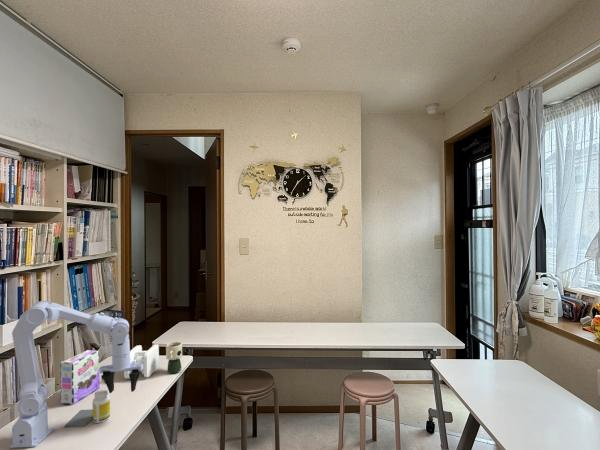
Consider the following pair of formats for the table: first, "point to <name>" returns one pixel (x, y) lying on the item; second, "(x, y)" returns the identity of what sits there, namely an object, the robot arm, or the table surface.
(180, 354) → the character mug
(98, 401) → the supplement bottle
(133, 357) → the cable organizer
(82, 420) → the mat
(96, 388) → the candy box
